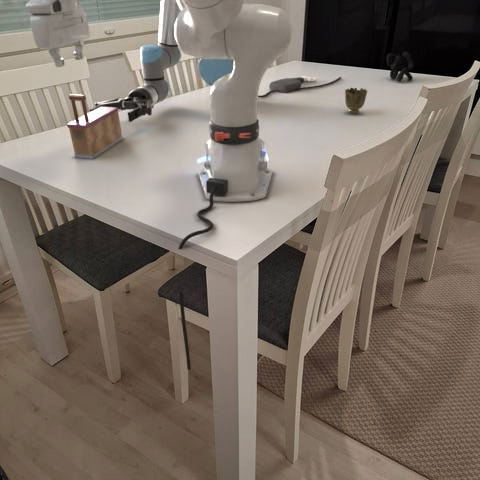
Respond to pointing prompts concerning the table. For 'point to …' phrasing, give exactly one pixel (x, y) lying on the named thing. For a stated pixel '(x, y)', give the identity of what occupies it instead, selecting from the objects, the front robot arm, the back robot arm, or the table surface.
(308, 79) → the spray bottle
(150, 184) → the table surface
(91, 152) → the chest
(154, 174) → the table surface
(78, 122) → the lid
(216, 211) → the table surface
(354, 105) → the cup
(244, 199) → the front robot arm
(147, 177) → the table surface
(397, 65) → the squiggle
